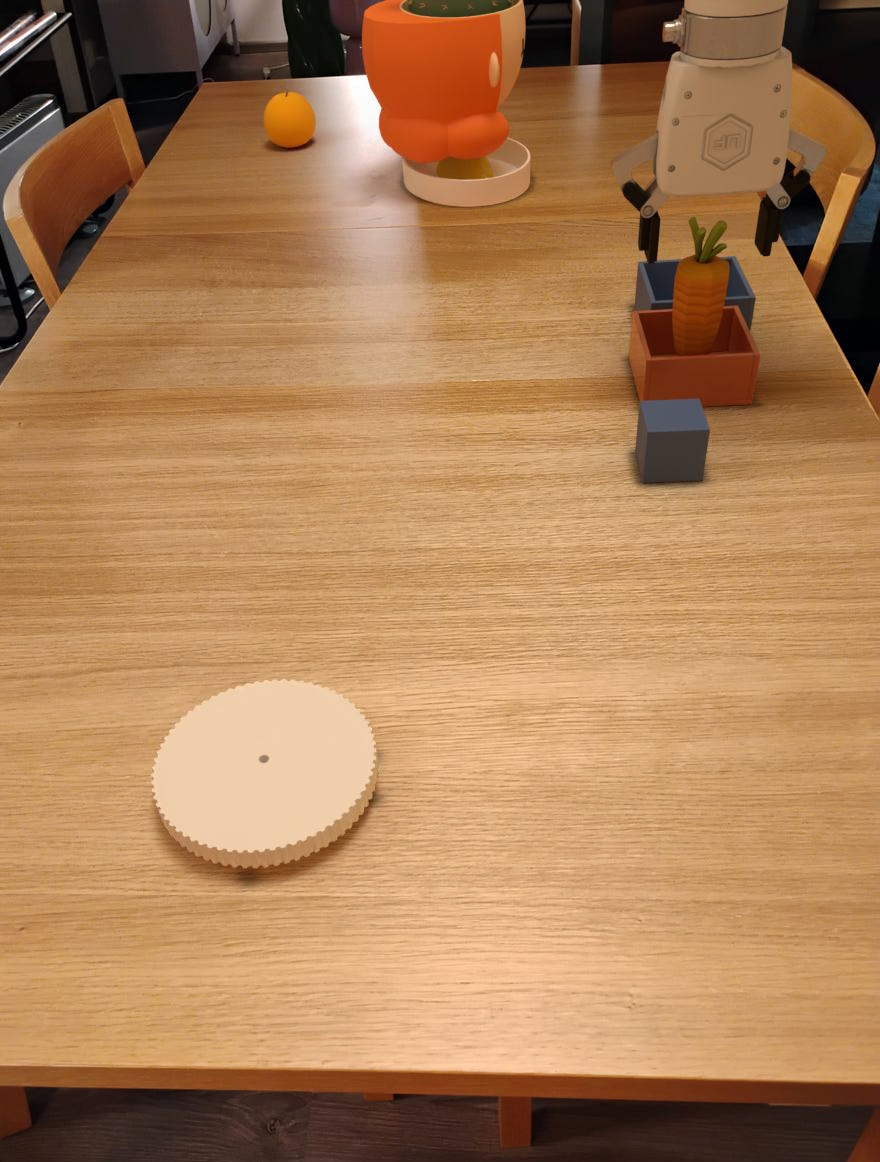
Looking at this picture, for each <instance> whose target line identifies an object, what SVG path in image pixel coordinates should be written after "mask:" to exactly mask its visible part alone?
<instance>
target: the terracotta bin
mask: <svg viewBox="0 0 880 1162" xmlns="http://www.w3.org/2000/svg"><path fill="white" fill-rule="evenodd" d="M672 312H673V309H664V310H645V311H636V310H633V311H632V313H631V324H630V335H629V336H630V337H629V351H628V361H629V365H630V369H631V372H632V373H631V374H632V376H633V380H634V384H635V388H636V392H637V395H638V400H639V402H640V401H654V400H676V399H698V398H699V399H700V402H701V404H702V407H703V408H704V407H705V408H706V407H723V406H724V407H725V406H747V405H753V400H754V393H755V388H756V382H757V376H758V370H759V365H760V360H761V353H760V351H759V349H758V346H757V344H756V343H755V340H754V338H753V335H752V333H751V330H750V331H749V329H748V327H747V324H746V322H745V320H744V318H743V316H742V313H741V311H740V309H739V307H738V306H724V308H723V313H722V318H721V322H720V325H719V328H718V331H717V334H716V337H715V340H714V343H713V345H712V348H711V351H710V352H709V354H708V355H695V356H677V354H676V350H675V346H674V336H673V323H672Z"/></svg>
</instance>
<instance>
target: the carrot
mask: <svg viewBox="0 0 880 1162" xmlns="http://www.w3.org/2000/svg"><path fill="white" fill-rule="evenodd" d="M687 221H688V225H689V228H690V230H691V235H692V240H693V244H694V254H692V255H690V256H686V257H683V258H681V259H682V260H681V261H679V264H678V267H677V271H676V276H675V283H674V295H673V312H672V323H673V336H674V346H675V350H676V354H677V356H695V355H708V354H709V352H710V351H711V348H712V345H713V343H714V340H715V337H716V334H717V331H718V328H719V325H720V322H721V318H722V313H723V308H724V303H725V298H726V292H727V286H728V280H729V272H730V266H729V263H728V262H727V261H726V260H724V259H722V258H720V257H721V256H718V254H720V253H722V251H724V250H725V249H726V248H728V245H727V244H726V243H724V242H722V243H718V242H719V240H720V239H721V238H722V237H723V235H724V234H725V232H726V231H727V229H728V224H727V222H726V221H724V220H721V219H720V220H718V221H717V222H715V224H714V226H713V227H712V228H711V230H710V232H709V233H708V236H707V238H706V240H705V236H706V233H707V228H705V227H704V226H702V227H699V224H698V221H697V218H696V216H691V217H690V218H689V219H688V220H687ZM704 240H705V242H704ZM703 243H704V244H703ZM717 243H718V244H717ZM716 244H717V245H716Z"/></svg>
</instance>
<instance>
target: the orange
mask: <svg viewBox="0 0 880 1162" xmlns="http://www.w3.org/2000/svg"><path fill="white" fill-rule="evenodd" d="M316 121H317V120H316V115H315V111H314V109H313V107H312V105H311V104H310V102H309V101H308V100H307V99H306V97H304V96H303V95H301V94H299V93H297V92H295V91H294V92H293V91H291V92H289V91H286V92H281V93H278V94H276V95H274V96H273V97H272V98H271V99H270V100H269V101H268V102H267V105H266V107H265V109H264V113H263V125H264V126H263V127H264V129H265V133H266V135H267V137H268V138H269V140H270V141H271V142H272V143H273V144H274V145H276V146H278V147H281V148H287V149H288V148H290V149H292V148H297V147H301V146H303V145H305V144H307V143H308V142H310V140H311V139H312V137H313V136H314V133H315V129H316V126H317V125H316V124H317V123H316Z"/></svg>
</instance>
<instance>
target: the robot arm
mask: <svg viewBox="0 0 880 1162" xmlns="http://www.w3.org/2000/svg"><path fill="white" fill-rule="evenodd" d="M788 3H789V0H684V4H683V7H682V8H681V14H679V15H678V18H677V19H674V20H673V21H664V22H663V24H662V25H663V26H662V42H663V43H667V42H672V44H677V46H678V47H679V48H680V49H679V51H675V52H674V53H673V54H672V55H671V57H670V61H669V65H668V68H667V72H666V76H665V81H664V84H663V89H662V94H661V100H660V104H659V111H658V116H657V124H656V129H655V133H653V134H652V135H650V136H649V137H647V138H645V139H643V140H642V141H640V142H638V143H637V144H634V146H632V147H630V148H628V149H627V150H625V151H622V153H620V154H618V155H616V156H615V157H613V158H612V159H611V161H610V168H611V171H612V174H613V175H614V178H615V180H616V182H617V185H618V186H619V188H620V191H621V193H622V195H623V197H624V198H625V199H626V200H627V201H628V202H629V203H630V204H631V205H632V206H633V207H634V208H635V209H636V211H638V212H639V223H638V236H637V247H638V251H639V252H642V251H643V252H644V255H645V258H646V261H647V262H648V264H653V263H655V262H657V261H658V254H659V244H660V243H659V242H660V231H661V217H660V214H659V212H658V210H659V209H661V207H662V206H663V205H664V204H665V202H666V201H667V200H668V199H669V198H670V197H672V198H698V197H711V196H712V197H713V196H725V195H726V196H727V195H739V194H740V195H741V194H752V193H753V194H754V193H761V192H765V196H762V200H760V202H759V209H758V214H757V222H756V228H755V235H754V245H755V247H756V249H757V250H758V253H759V255H760V256H762V257H764V258H765V257H770V256H771V254H772V246H773V243H778V241H779V240H780V239H779V238H780V234H781V233H780V232H781V227H782V221H783V215H784V209H786V208H787V207H789V205H790V203H791V200H792V199H794V197H796V196H797V195H798V194H799V193H800V192H801V191H802V190H804V188H806V187H807V186H808V185H809V183H810V182H811V177H812V176H813V175H814V174H815V173H816V171H817V169H818V168H819V167H820V165H821V164H822V163H823V161H824V160H825V158H826V156H827V154H828V150H827V148H826V146H824V144H823V143H821V142H820V141H818V140H816V139H814V138H812V137H810V136H809V135H806V134H804V133H802V132H801V131H798V130H796V129H794V128H792V127H790V125H791V113H792V112H791V111H792V110H791V109H792V96H793V58H792V52H791V51H790V50H789V49H787V48H786V47H784V46H782V45H783V38H784V32H785V24H786V19H787V18H786V17H787V11H788ZM788 150H790V151H792V152H795V153H797V154H799V155H800V156H801V157H800V159H799V161H798V163H797V165H796V166H795V167H793V168H792V169H791V170H790V171H789V172H788V173H787V174H786V175H785V176H784V173H785V171H786V170H785V169H786V164H787V155H788ZM651 159H652V172H653V173H652V174H653V175H654V176H653V178H652V179H651V180H650V181H649V183H647V184H646V186H645V187H644V188H642V187H641V185H640V184H638V183H637V181H635V179H634V177H633V175H632V173H633V171H634V169H635V168H636V167H638V166H641V165H642V164H644V163H646V162H648V161H649V160H651Z"/></svg>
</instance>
